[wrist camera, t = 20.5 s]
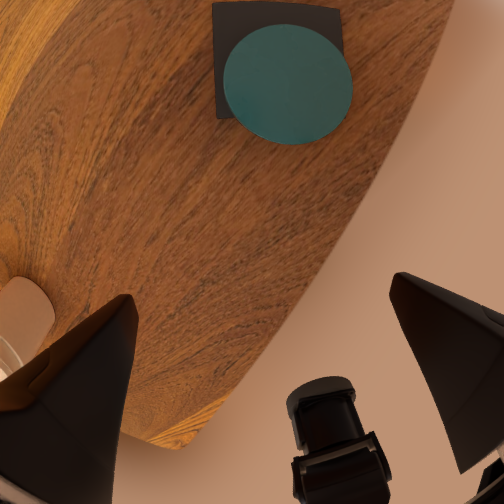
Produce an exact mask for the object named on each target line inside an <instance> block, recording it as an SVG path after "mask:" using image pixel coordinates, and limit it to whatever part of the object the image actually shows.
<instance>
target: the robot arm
mask: <svg viewBox="0 0 504 504" xmlns="http://www.w3.org/2000/svg"><path fill="white" fill-rule="evenodd" d="M389 297H390V301H391V303H392V305H393V308H394V310H395V313H396V315H397V318H398V320H399V323H400V326H401V328H402V331H403V333H404V335H405V337H406V339H407V341H408V343H409V345H410V347H411V349H412V351H413V353H414V356H415V358H416V360H417V362H418V364H419V366H420V368H421V371H422V373H423V375H424V377H425V380H426V382H427V384H428V387H429V389H430V391H431V393H432V396H433V398H434V401H435V403H436V406H437V408H438V411H439V413H440V416H441V419H442V421H443V424H444V426H445V430H446V433H447V435H448V438H449V441H450V444H451V447H452V450H453V453H454V456H455V460H456V463H457V466H458V469H459V472H460V474H462V473H464V472H466V471H467V470H469V469H470V468H472V467H473V466H475V465H476V464H477V463H479V462H480V461H482V460H483V459H484V458H486V457H487V456H488V455H490V454H491V453H492V452H494V451H495V450H497V451H498V454H499V456H500V458H498V459H497V460H496V461H495V462H493V463H492V464H491V465H490V466H488V467H487V468H485V469H484V472H483V475H482V479H481V482H480V485H479V488H478V492H477V494H476V496H474V497H473V498H472V499H470V500H469V501H467V502H466V503H465V504H504V315H503V314H501V313H498V312H496V311H494V310H492V309H489V308H487V307H485V306H483V305H482V306H481V305H480V304H478V303H476V302H474V301H471V300H469V299H467V298H465V297H463V296H460V295H458V294H456V293H454V292H451V291H449V290H447V289H444V288H442V287H440V286H437V285H435V284H433V283H430V282H428V281H425V280H423V279H421V278H418V277H416V276H414V275H411V274H409V273H406V272H400V273H396V274H395V275H394V277H393V280H392V284H391V288H390V292H389ZM138 322H139V316H138V312H137V309H136V306H135V303H134V299H133V297H132V295H130V294H120V295H118V296H117V297H115V298H114V299H113V300H111V301H110V302H108V303H107V304H106V305H104V306H103V307H101V308H100V309H99V310H97V311H96V312H95V313H93V314H92V315H90V316H89V317H88V318H86V319H85V320H84V321H82V322H81V323H80V324H78V325H77V326H76V327H74V328H73V329H72V330H70V331H69V332H68V333H66V334H65V335H64V336H62V337H61V338H60V339H58V340H57V341H56V342H55V343H53V344H52V345H51V346H50V347H49V348H47V349H45V350H44V351H43V352H42V353H40V354H39V355H38V356H36V357H35V358H34V359H32V360H31V361H30V362H28V363H27V364H25V365H24V366H23V367H21V368H20V369H18V370H17V371H15V372H14V373H12V374H11V375H10V376H8V377H7V378H5V379H4V380H2V381H1V382H0V504H112V493H113V482H114V471H115V461H116V454H117V446H118V440H119V433H120V427H121V421H122V415H123V409H124V404H125V399H126V393H127V388H128V384H129V379H130V374H131V370H132V365H133V360H134V354H135V345H136V337H137V329H138ZM354 394H355V389H354V388H349V389H345V390H340V391H335V392H331V393H325V394H320V395H315V396H309V397H303V398H300V399H298V401H297V407H296V411H294V413H293V417H292V426H293V431H294V435H295V440H296V445H297V449H298V450H303V452H304V456H300V457H299V456H297V457H294V458H293V459H294V461H293V462H292V463H291V466H292V471H293V496H294V498H296V499H298V500H299V502H300V503H301V504H388V503H389V500H390V496H391V495H390V490H389V487H388V484H387V482H388V481H390V480H392V476H391V471H390V467H389V464H388V461H387V459H386V456H385V454H384V452H383V450H382V448H381V446H380V443H379V441H378V439H377V437H376V435H375V433H374V431H372V432H369V434H366V435H365V432H364V430H363V427H362V424H361V422H360V419H359V416H358V414H357V411H356V409H355V406H354V403H353V401H352V399H353V397H354ZM370 450H371V452H370Z"/></svg>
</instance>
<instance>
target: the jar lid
mask: <svg viewBox="0 0 504 504" xmlns="http://www.w3.org/2000/svg"><path fill="white" fill-rule="evenodd" d="M223 87H224V95H225V99H226V102H227V105H228V107H229V109H230V111H231V113H232V114H233V116H234V117H235V118H236V120H237V121H238V122H239V123H240V124H241V125H242V126H244V127H245V128H246V129H247V130H249V131H250V132H252V133H254V134H255V135H257V136H260V137H262V138H264V139H266V140H269V141H272V142H275V143H280V144H289V145H296V144H305V143H309V142H313V141H316V140H318V139H320V138H323V137H324V136H326V135H328V134H329V133H331V132H332V131H333V130H334V129H335V128H336V127H337V126H338V125H339V124H340V123H341V122H342V120H343V119H344V117H345V116H346V114H347V112H348V110H349V107H350V104H351V100H352V93H353V85H352V77H351V73H350V70H349V67H348V65H347V63H346V61H345V59H344V57H343V56H342V54H341V53H340V51H339V50H338V49H337V48H336V47H335V46H334V45H333V44H332V43H331V42H330V41H329V40H328V39H326V38H325V37H323V36H322V35H320V34H319V33H317V32H315V31H313V30H310V29H308V28H305V27H301V26H296V25H288V24H279V25H271V26H267V27H263V28H260V29H258V30H256V31H254V32H252V33H250V34H248V35H247V36H246V37H244V38H243V39H242V40H241V41H240V42H239V43H238V44H237V45H236V46H235V47H234V49H233V50H232V51H231V53H230V55H229V57H228V59H227V62H226V64H225V69H224V74H223Z"/></svg>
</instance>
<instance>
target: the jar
mask: <svg viewBox="0 0 504 504" xmlns="http://www.w3.org/2000/svg"><path fill="white" fill-rule="evenodd" d="M54 322H55V313H54V309H53V306H52V304H51V302H50V300H49V299H48V297H47V296H46V294H45V293H44V292H43V290H42V289H41V288H40V287H39V286H37V285H36V284H35V283H34V282H32V281H31V280H29V279H27V278H25V277H21V276H17V277H13V278H12V279H10V280H9V282H8V283H7V284H6V285H5V286H4V287H3V288H2V289H1V290H0V382H1V381H2V380H4V379H5V378H7V377H8V376H10V375H11V374H12V373H14V372H15V371H17V370H18V369H20V368H21V367H23V366H24V365H25V364H27V363H28V362H30V361H31V360H32V359H34V358H35V356H36V354H37V352H38V351H39V349H40V347H41V345H42V343H43V342H44V340H45V338H46V337H47V335H48V333H49V331H50V330H51V328H52V326H53V325H54Z"/></svg>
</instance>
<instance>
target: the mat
mask: <svg viewBox="0 0 504 504" xmlns="http://www.w3.org/2000/svg"><path fill="white" fill-rule="evenodd" d="M212 16H213V50H214V75H215V96H216V115H217V119H223V118H235V117H234V116H233V114H232V113H231V111H230V109H229V107H228V105H227V102H226V99H225V95H224V87H223V74H224V69H225V64H226V62H227V59H228V57H229V55H230V53H231V51H232V50H233V49H234V47H235V46H236V45H237V44H238V43H239V42H240V41H241V40H242V39H243V38H244V37H246V36H247V35H248V34H250V33H252V32H254V31H256V30H258V29H260V28H263V27H267V26H271V25H279V24H288V25H296V26H301V27H305V28H308V29H310V30H313V31H315V32H317V33H319V34H320V35H322V36H323V37H325V38H326V39H328V40H329V41H330V42H331V43H332V44H333V45H334V46H335V47H336V48H337V49H338V50H339V51H340V53H341V54H342V56H343V57H344V53H343V40H342V29H341V19H340V10H339V9H334V8H328V7H321V6H314V5H306V4H297V3H284V2H263V1H238V2H217V3H212ZM345 118H346V116H345V117H344V119H345Z"/></svg>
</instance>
